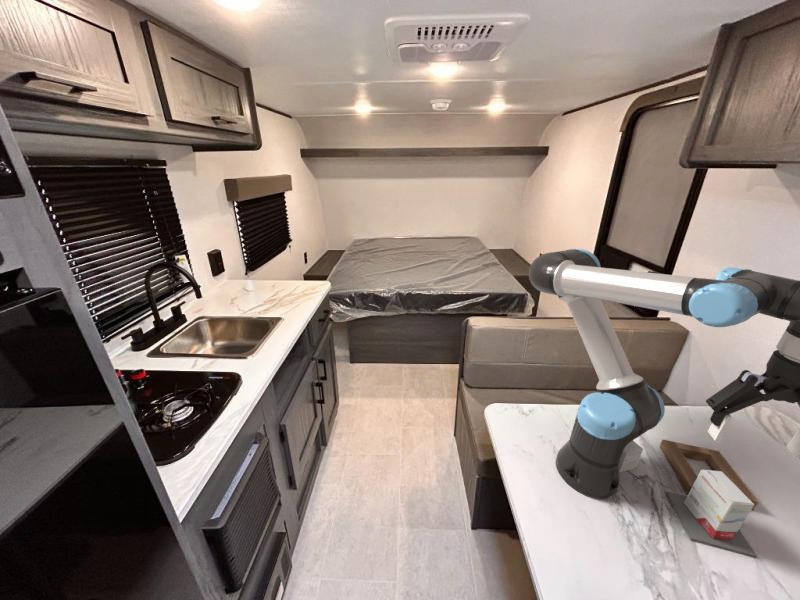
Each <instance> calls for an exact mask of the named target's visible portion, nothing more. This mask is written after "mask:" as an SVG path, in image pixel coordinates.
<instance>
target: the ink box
mask: <svg viewBox="0 0 800 600" xmlns="http://www.w3.org/2000/svg"><path fill="white" fill-rule="evenodd" d="M697 476H698V477H697V479H696V480H695V482H694V484H693V486H692V488H691V490H690V492H689V494H688V495H686V496H687V498H686V499H685V501H684V504H685V505H686V506H687V507H688V509H689V510H690V511H691V512H692V514H693V515H694V516H695V517H696V519H697V520H698V521H699V522H700V524H701V525H702V526H703V528H704V529H705V530H706V531H707V533H708V534H709V535H710V536H711V537H712V538H715V539H733V538H734V536H735V534H736V533H737V531H738V530H740V528H741V527H742V525H743V524H744V522H745V520H746V519H747V517H748V516H749V514H750V513H751V511H752V510H751V509H752V508H753V506H754V504H753V503H752V502H751V501H750V500H749V499H748V498H747V497H746V496H745V494H744V493H743V492H742V491H741V490H740V489H739V488H738V487H737V486H736V485H735V484H734V483H733V482H732V481H731V480H730V479H729V478H728V477H727V476H726V475H725V474H724V473H723V472H722V471H714V470H711V469H700V471H699V473H698V474H697Z"/></svg>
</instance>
